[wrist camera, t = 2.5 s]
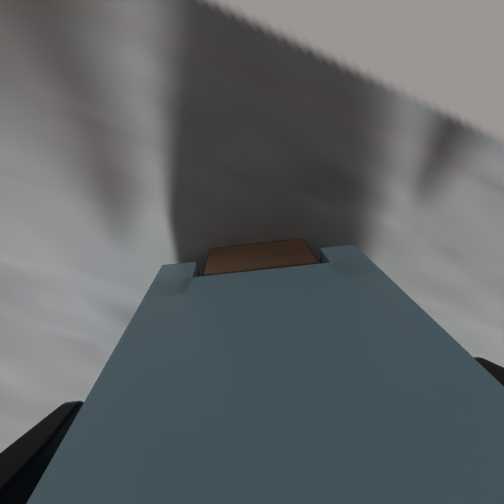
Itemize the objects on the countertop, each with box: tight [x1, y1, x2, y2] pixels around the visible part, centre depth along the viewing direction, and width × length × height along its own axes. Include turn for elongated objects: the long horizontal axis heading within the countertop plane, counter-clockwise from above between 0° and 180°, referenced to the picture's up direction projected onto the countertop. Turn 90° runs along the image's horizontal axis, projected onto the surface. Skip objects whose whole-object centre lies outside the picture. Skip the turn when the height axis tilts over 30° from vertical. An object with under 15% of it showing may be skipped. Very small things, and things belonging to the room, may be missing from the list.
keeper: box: [27, 244, 504, 504], centre depth 7 cm, size 5×6×7 cm
